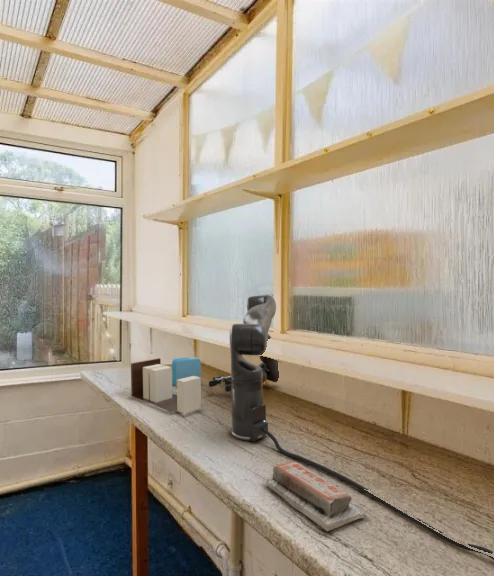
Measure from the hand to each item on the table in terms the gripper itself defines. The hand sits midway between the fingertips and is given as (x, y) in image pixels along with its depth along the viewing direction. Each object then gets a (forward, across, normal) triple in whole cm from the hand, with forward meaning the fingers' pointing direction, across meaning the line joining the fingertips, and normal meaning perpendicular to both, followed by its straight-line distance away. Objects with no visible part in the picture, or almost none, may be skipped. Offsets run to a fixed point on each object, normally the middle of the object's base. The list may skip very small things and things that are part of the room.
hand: (217, 386), depth 144 cm
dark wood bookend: (+13, -16, +6) cm, 21 cm away
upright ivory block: (+14, 0, +6) cm, 16 cm away
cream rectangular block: (+14, -16, +6) cm, 22 cm away
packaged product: (+31, +57, +7) cm, 65 cm away
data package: (-8, -26, +7) cm, 28 cm away
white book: (+14, -20, +6) cm, 26 cm away
